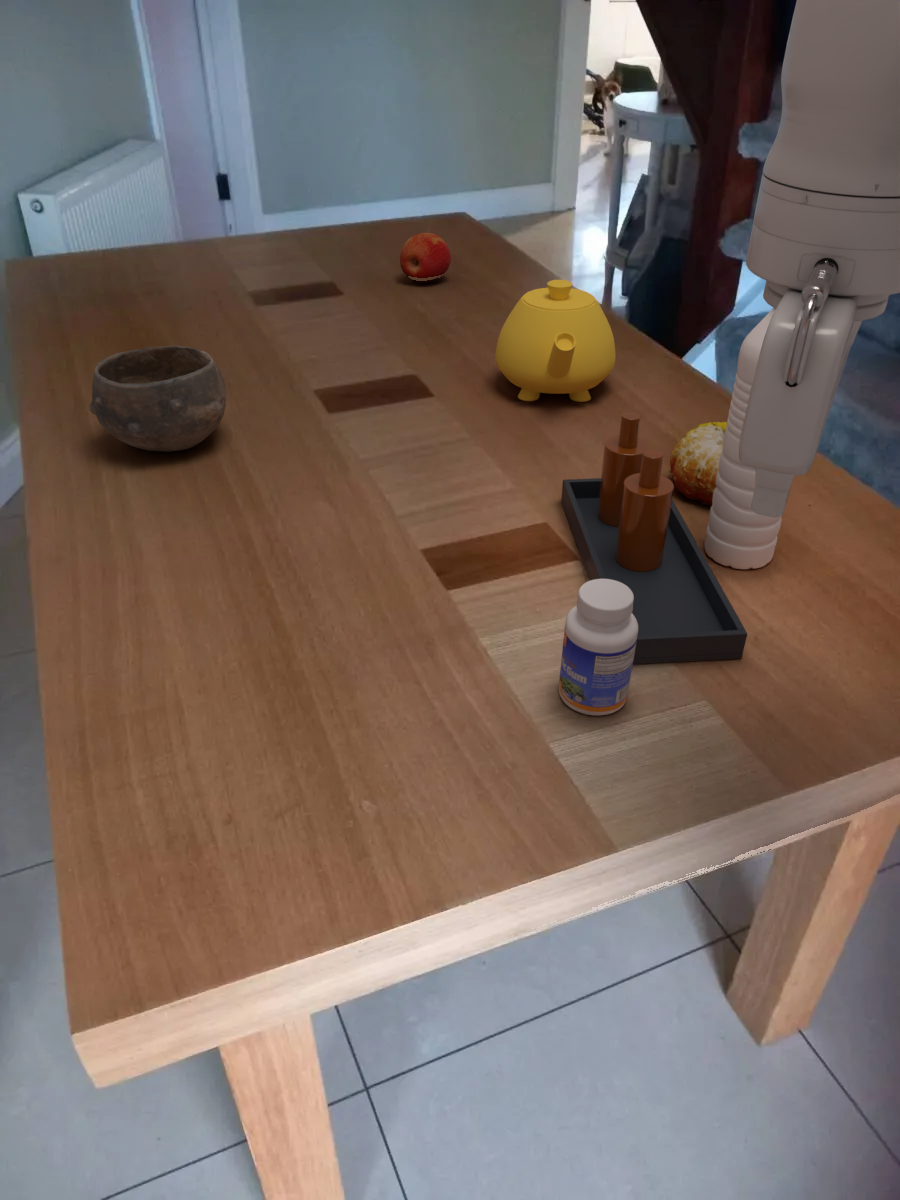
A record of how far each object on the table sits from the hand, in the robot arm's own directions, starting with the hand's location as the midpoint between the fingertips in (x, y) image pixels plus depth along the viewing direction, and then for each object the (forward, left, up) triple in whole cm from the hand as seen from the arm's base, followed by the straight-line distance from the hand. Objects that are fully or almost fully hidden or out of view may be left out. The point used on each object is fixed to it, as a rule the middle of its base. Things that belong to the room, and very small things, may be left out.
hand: (780, 475), depth 56 cm
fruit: (-11, -37, -22) cm, 44 cm away
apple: (+16, -114, -22) cm, 117 cm away
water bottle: (-10, -25, -22) cm, 35 cm away
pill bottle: (+9, -5, -22) cm, 24 cm away
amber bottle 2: (+1, -23, -21) cm, 31 cm away
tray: (+1, -22, -22) cm, 31 cm away
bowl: (+50, -53, -22) cm, 76 cm away
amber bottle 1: (+1, -31, -21) cm, 37 cm away
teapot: (+2, -64, -22) cm, 68 cm away
